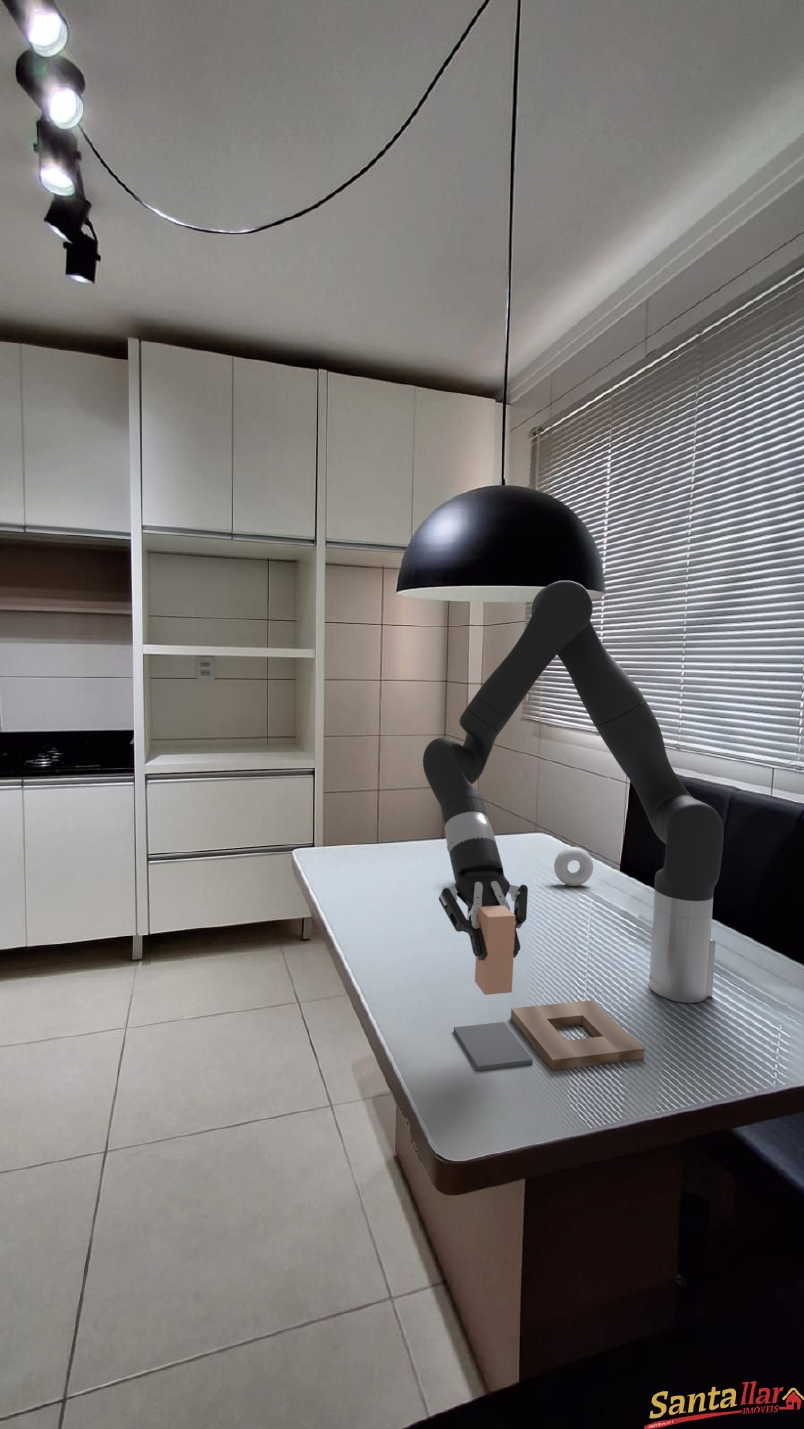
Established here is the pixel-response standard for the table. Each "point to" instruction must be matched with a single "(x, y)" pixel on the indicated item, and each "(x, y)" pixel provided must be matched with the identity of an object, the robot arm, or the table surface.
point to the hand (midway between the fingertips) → (498, 956)
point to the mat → (492, 1046)
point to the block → (496, 950)
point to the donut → (568, 856)
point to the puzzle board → (562, 1054)
